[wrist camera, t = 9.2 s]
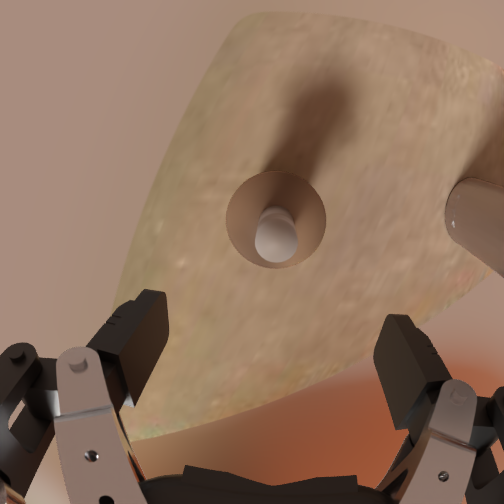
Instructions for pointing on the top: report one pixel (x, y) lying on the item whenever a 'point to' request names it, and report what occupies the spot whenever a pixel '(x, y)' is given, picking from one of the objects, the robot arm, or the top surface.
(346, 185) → the top surface
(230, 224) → the lid
